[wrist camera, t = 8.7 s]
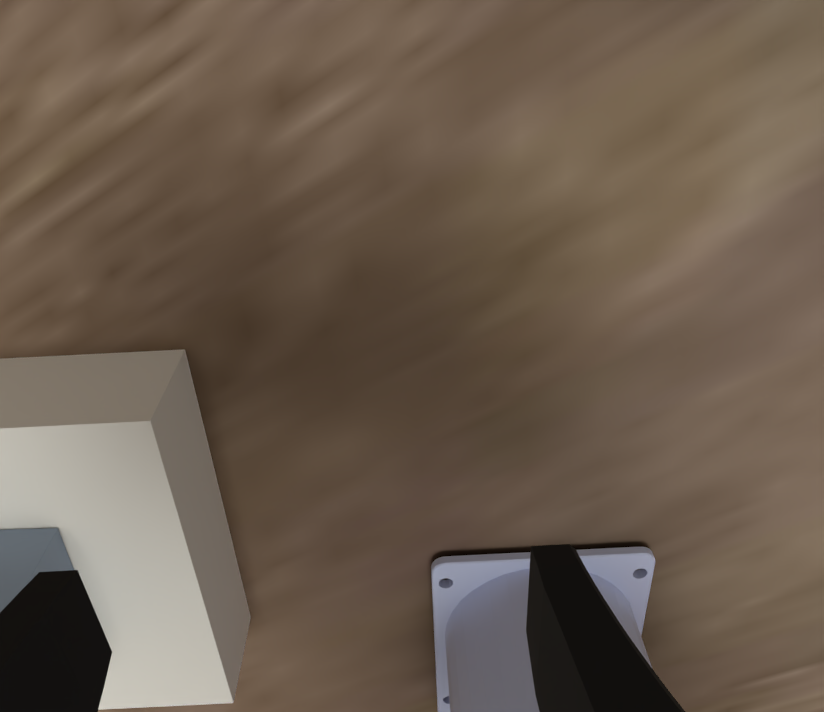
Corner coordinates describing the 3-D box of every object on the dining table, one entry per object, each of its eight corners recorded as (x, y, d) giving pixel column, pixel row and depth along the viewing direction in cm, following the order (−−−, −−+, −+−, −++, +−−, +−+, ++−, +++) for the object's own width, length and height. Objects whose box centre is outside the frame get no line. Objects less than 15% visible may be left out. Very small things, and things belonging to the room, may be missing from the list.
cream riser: (252, 606, 28) (233, 702, 24) (-54, 621, 28) (-117, 720, 24) (188, 341, 21) (150, 421, 18) (-208, 361, 22) (-321, 444, 18)
